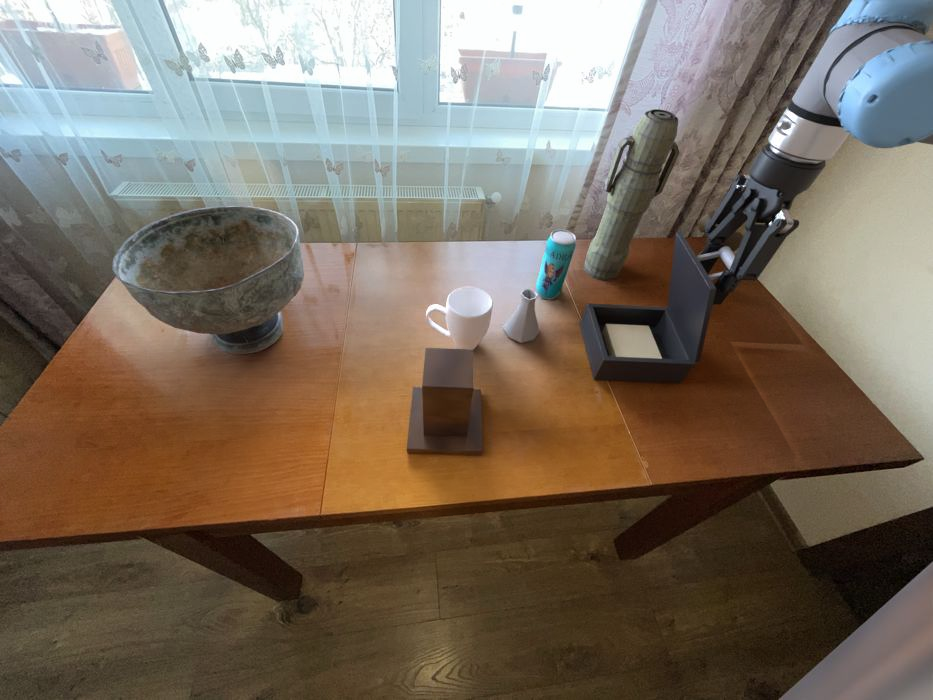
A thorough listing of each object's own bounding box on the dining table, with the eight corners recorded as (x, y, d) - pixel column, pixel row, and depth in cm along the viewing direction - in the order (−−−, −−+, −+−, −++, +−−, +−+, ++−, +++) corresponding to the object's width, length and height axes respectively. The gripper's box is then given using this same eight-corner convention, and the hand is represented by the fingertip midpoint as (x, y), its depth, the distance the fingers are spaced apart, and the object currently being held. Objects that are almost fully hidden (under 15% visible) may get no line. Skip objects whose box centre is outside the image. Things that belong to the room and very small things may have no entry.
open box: (593, 380, 76) (603, 360, 71) (579, 323, 86) (587, 303, 81) (680, 383, 77) (696, 364, 72) (656, 327, 87) (668, 307, 82)
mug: (484, 328, 83) (491, 286, 74) (488, 359, 78) (495, 317, 69) (426, 328, 82) (426, 284, 73) (426, 359, 77) (425, 316, 68)
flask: (520, 313, 87) (529, 276, 79) (545, 332, 83) (556, 296, 76) (496, 327, 83) (502, 291, 76) (520, 348, 80) (530, 312, 72)
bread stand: (480, 393, 72) (489, 337, 61) (481, 455, 64) (492, 404, 53) (413, 391, 72) (410, 334, 60) (406, 453, 64) (401, 401, 52)
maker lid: (710, 289, 59) (764, 278, 57) (675, 232, 69) (721, 221, 67) (694, 362, 72) (738, 355, 71) (667, 306, 82) (705, 298, 80)
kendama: (684, 293, 95) (731, 217, 80) (670, 267, 101) (712, 193, 86) (708, 294, 95) (760, 219, 80) (693, 269, 102) (739, 194, 86)
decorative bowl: (150, 388, 68) (78, 297, 53) (188, 291, 84) (141, 201, 70) (314, 373, 73) (290, 288, 59) (320, 285, 90) (302, 201, 75)
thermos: (630, 280, 97) (704, 124, 70) (583, 281, 95) (642, 122, 69) (617, 258, 103) (682, 106, 76) (573, 258, 101) (623, 104, 75)
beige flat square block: (644, 333, 84) (648, 325, 82) (657, 367, 78) (662, 359, 76) (601, 331, 83) (605, 323, 81) (612, 365, 77) (616, 357, 76)
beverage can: (532, 297, 90) (546, 240, 79) (537, 282, 94) (551, 225, 83) (557, 304, 89) (575, 247, 78) (561, 288, 93) (579, 232, 82)
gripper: (735, 120, 57) (665, 254, 75) (809, 186, 45) (704, 328, 62) (786, 124, 58) (704, 256, 75) (873, 190, 45) (750, 330, 63)
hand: (704, 289), depth 69 cm, fingers closed on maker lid, 6 cm apart
